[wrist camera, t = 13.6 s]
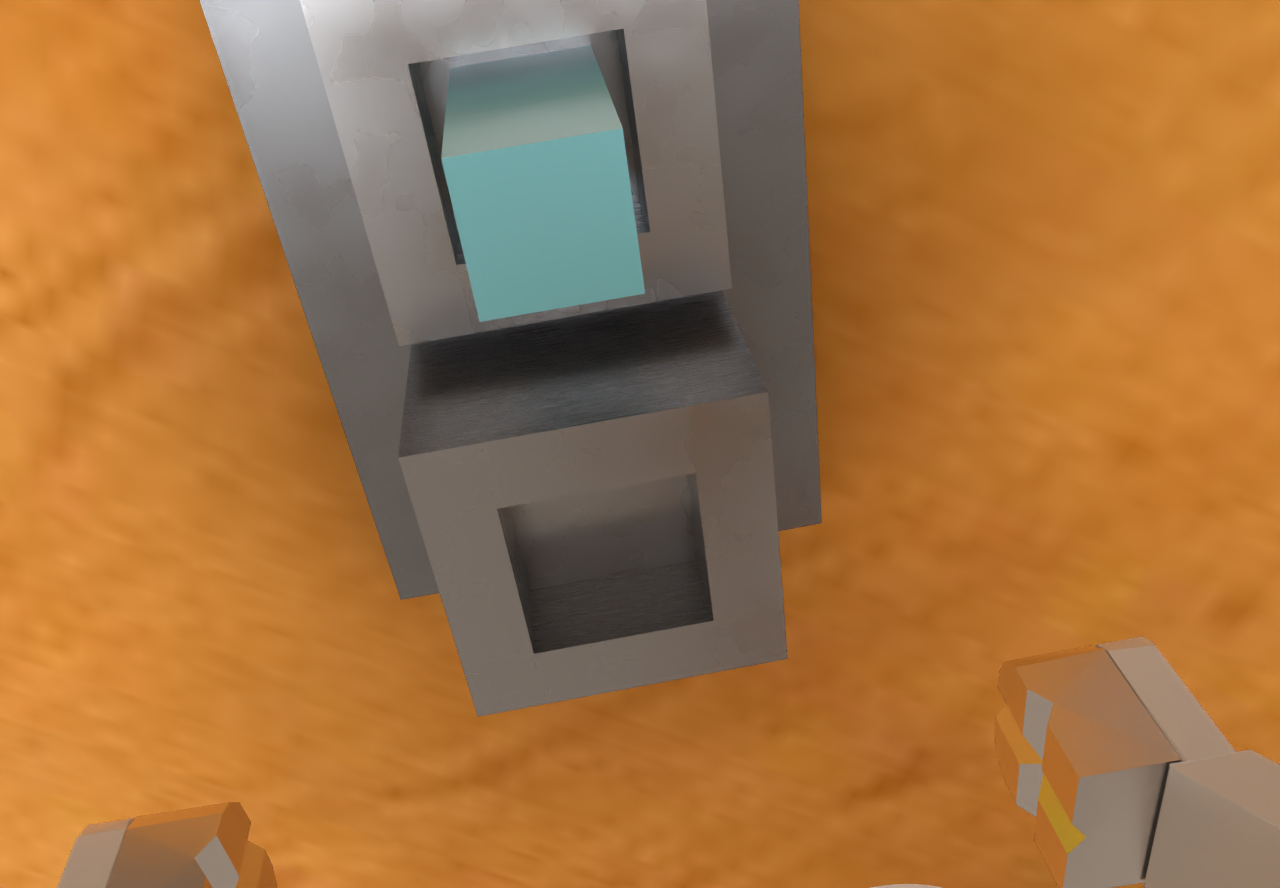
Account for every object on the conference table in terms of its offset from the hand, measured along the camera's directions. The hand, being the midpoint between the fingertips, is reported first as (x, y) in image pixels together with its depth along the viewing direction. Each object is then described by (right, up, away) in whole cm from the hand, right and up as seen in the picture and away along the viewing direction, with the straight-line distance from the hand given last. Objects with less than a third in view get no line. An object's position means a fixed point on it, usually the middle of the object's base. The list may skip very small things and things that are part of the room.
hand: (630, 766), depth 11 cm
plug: (-3, +13, +20) cm, 24 cm away
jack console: (-2, +9, +24) cm, 26 cm away
